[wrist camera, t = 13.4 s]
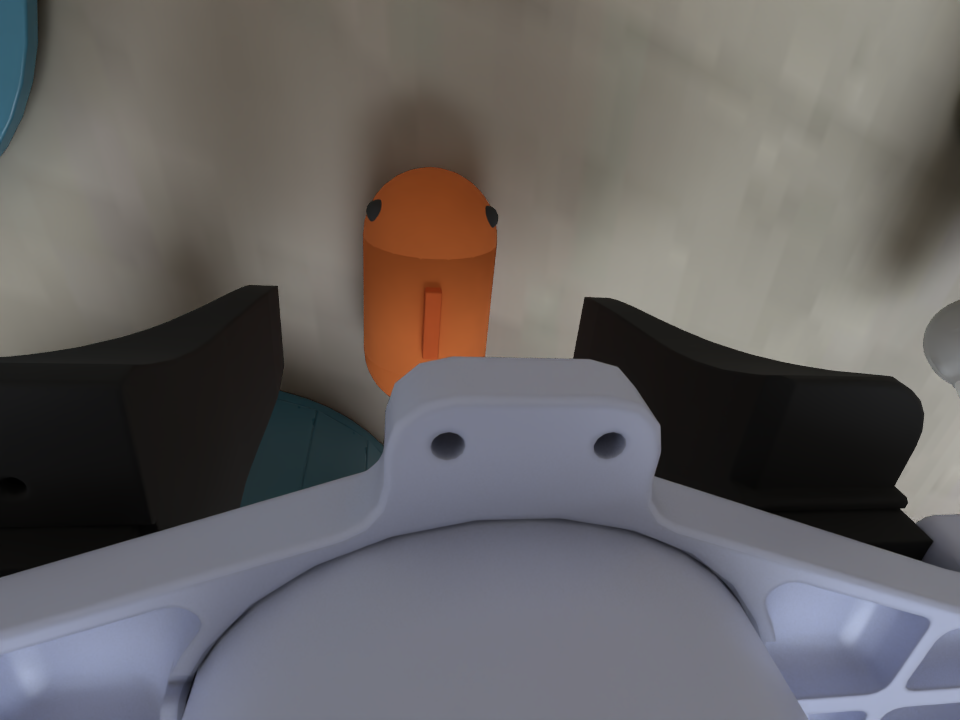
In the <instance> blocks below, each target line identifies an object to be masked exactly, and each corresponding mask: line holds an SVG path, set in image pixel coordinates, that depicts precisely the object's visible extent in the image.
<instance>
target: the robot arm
mask: <svg viewBox="0 0 960 720" xmlns="http://www.w3.org/2000/svg"><path fill="white" fill-rule="evenodd" d="M283 369H284V358H283V345H282V333H281V320H280V308H279V296H278V286H261V285H248V286H244V287H242V288H239V289H237V290H235V291H233V292H231V293H228V294H226V295H224V296H222V297H220V298H218V299H216V300H214V301H212V302H210V303H208V304H206V305H204V306H202V307H200V308H198V309H196V310H194V311H191V312H189V313H187V314H185V315H182V316H180V317H178V318H175V319H173V320H171V321H169V322H166V323H164V324H161V325H158V326H156V327H153V328H150V329H147V330H144V331H141V332H138V333H134V334H131V335H128V336H124V337H121V338H117V339H112V340H108V341H104V342H99V343H95V344H91V345H86V346H82V347H77V348H71V349H65V350H59V351H53V352H45V353H37V354H30V355H21V356H11V357H0V720H960V514H956V515H933V516H928V517H925V518H923V519H922V520H920V521H918V522H917V523H916V524H915V523H914V522H913V521H912V520H911V519H910V518H909V517H908V516H907V515H906V514H905V513H904V512H903V511H902V510H901V509H900V508H905V507H906V505H907V504H908V501H907V497H906V496H905V495H903V494H902V493H901V492H900V491H899V490H898V489H897V488H896V487H895V484H896V482H897V480H898V478H899V477H900V475H901V473H902V471H903V469H904V467H905V466H906V464H907V462H908V460H909V458H910V456H911V455H912V453H913V451H914V449H915V447H916V445H917V443H918V440H919V438H920V435H921V433H922V429H923V421H924V412H923V408H922V404H921V401H920V399H919V398H918V397H917V396H916V395H915V393H914V392H913V391H912V390H911V389H909V388H908V387H907V386H905V385H904V384H902V383H901V382H899V381H898V380H896V379H895V378H894V377H891V376H883V375H872V374H862V373H851V372H841V371H832V370H825V369H819V368H813V367H806V366H800V365H795V364H790V363H785V362H780V361H776V360H772V359H768V358H763V357H759V356H755V355H751V354H748V353H744V352H741V351H738V350H735V349H731V348H728V347H725V346H722V345H719V344H716V343H713V342H711V341H708V340H705V339H703V338H700V337H698V336H696V335H693V334H691V333H688V332H686V331H684V330H681V329H679V328H677V327H675V326H673V325H670V324H668V323H666V322H664V321H662V320H660V319H658V318H656V317H654V316H651V315H649V314H647V313H645V312H643V311H641V310H639V309H637V308H635V307H633V306H630V305H628V304H626V303H623V302H621V301H618V300H615V299H611V298H595V297H585V298H584V304H583V309H582V314H581V320H580V325H579V330H578V336H577V341H576V346H575V352H574V357H573V359H558V358H507V357H457V356H452V357H447V358H443V359H438V360H433V361H428V362H424V363H419V364H418V365H417V366H416V367H414V368H413V369H412V370H411V371H409V372H408V373H407V374H406V375H405V376H403V377H402V378H401V379H400V380H398V381H397V382H396V383H395V384H394V387H393V390H392V393H391V396H390V399H389V402H388V405H387V407H386V410H385V442H384V448H383V453H382V455H381V457H380V459H379V460H378V462H376V463H375V464H374V465H373V466H372V467H371V468H370V469H368V470H367V471H364V472H361V473H357V474H354V475H350V476H347V477H344V478H340V479H337V480H333V481H330V482H326V483H323V484H320V485H316V486H313V487H309V488H306V489H302V490H299V491H296V492H292V493H289V494H285V495H282V496H278V497H275V498H272V499H268V500H265V501H261V502H258V503H254V504H251V505H248V506H244V507H241V508H240V505H241V501H242V496H243V492H244V488H245V484H246V481H247V478H248V475H249V472H250V469H251V466H252V463H253V461H254V458H255V456H256V453H257V451H258V448H259V445H260V443H261V440H262V438H263V435H264V433H265V430H266V427H267V425H268V422H269V420H270V417H271V414H272V412H273V409H274V406H275V404H276V401H277V398H278V394H279V389H280V384H281V379H282V374H283Z"/></svg>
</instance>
